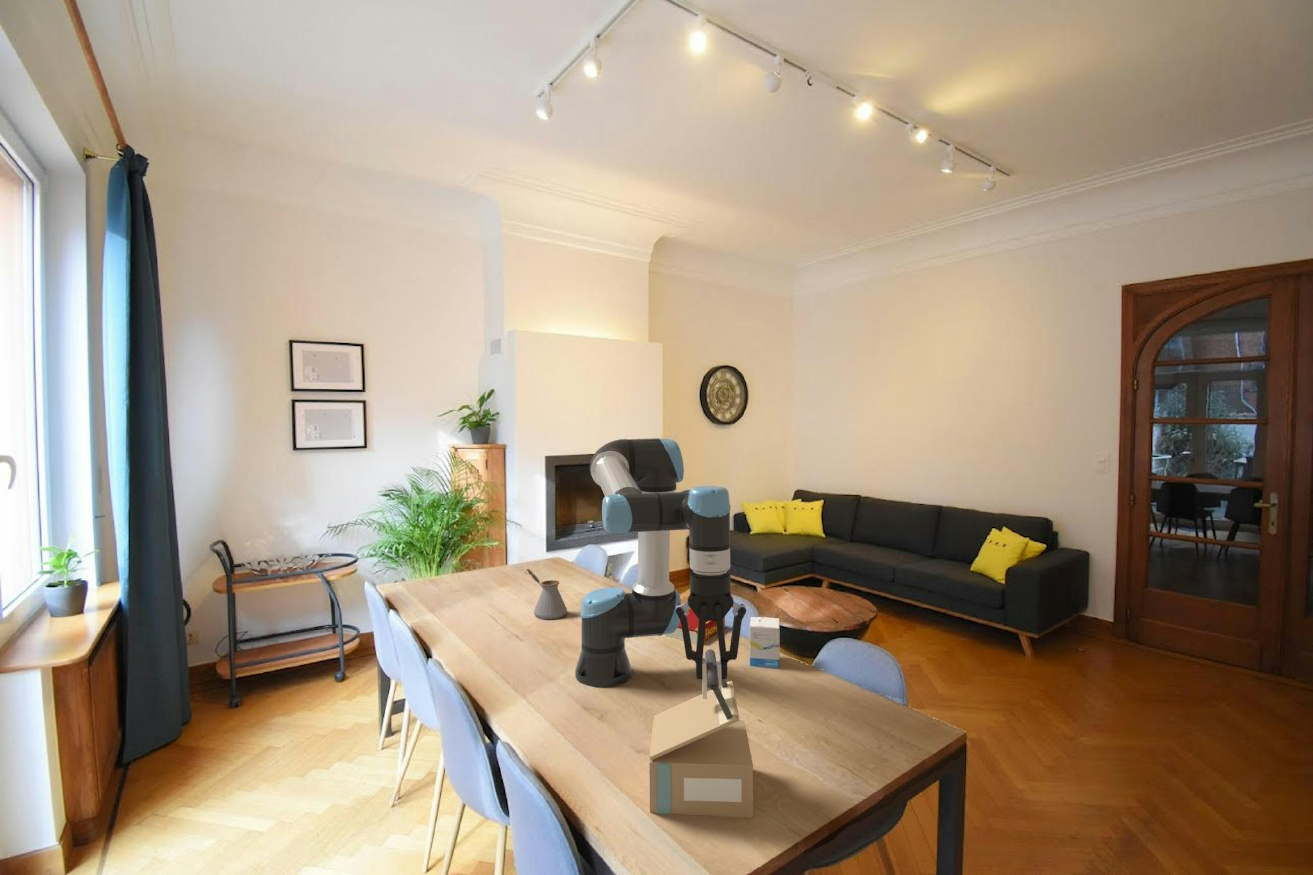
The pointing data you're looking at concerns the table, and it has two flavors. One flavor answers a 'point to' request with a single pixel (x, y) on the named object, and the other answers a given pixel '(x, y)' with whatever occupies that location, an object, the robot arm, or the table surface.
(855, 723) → the table surface
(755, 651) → the ink box
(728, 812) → the carton
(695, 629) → the book
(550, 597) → the coffee pot
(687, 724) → the flap
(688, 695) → the table surface
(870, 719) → the table surface
